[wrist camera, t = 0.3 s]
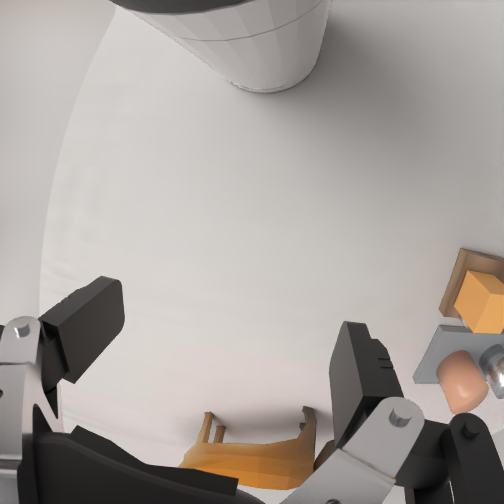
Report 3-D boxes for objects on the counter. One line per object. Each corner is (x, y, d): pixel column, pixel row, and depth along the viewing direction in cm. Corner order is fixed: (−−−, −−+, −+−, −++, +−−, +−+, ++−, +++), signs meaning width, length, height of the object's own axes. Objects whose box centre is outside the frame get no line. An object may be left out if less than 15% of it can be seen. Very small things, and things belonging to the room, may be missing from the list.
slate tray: (439, 325, 28) (442, 331, 26) (539, 330, 25) (543, 334, 24) (412, 377, 31) (415, 383, 29) (515, 373, 28) (518, 377, 27)
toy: (159, 405, 39) (120, 484, 25) (360, 387, 32) (373, 494, 18) (189, 444, 42) (163, 515, 28) (364, 432, 35) (371, 519, 22)
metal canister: (488, 343, 26) (508, 374, 21) (506, 344, 26) (526, 372, 20) (473, 368, 28) (490, 400, 22) (493, 367, 27) (510, 397, 22)
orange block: (453, 305, 25) (473, 332, 20) (467, 270, 23) (490, 293, 19) (480, 308, 24) (500, 333, 20) (493, 275, 23) (517, 297, 18)
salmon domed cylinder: (447, 349, 27) (465, 384, 22) (476, 350, 27) (496, 382, 21) (429, 380, 29) (443, 416, 24) (458, 380, 29) (473, 412, 23)
